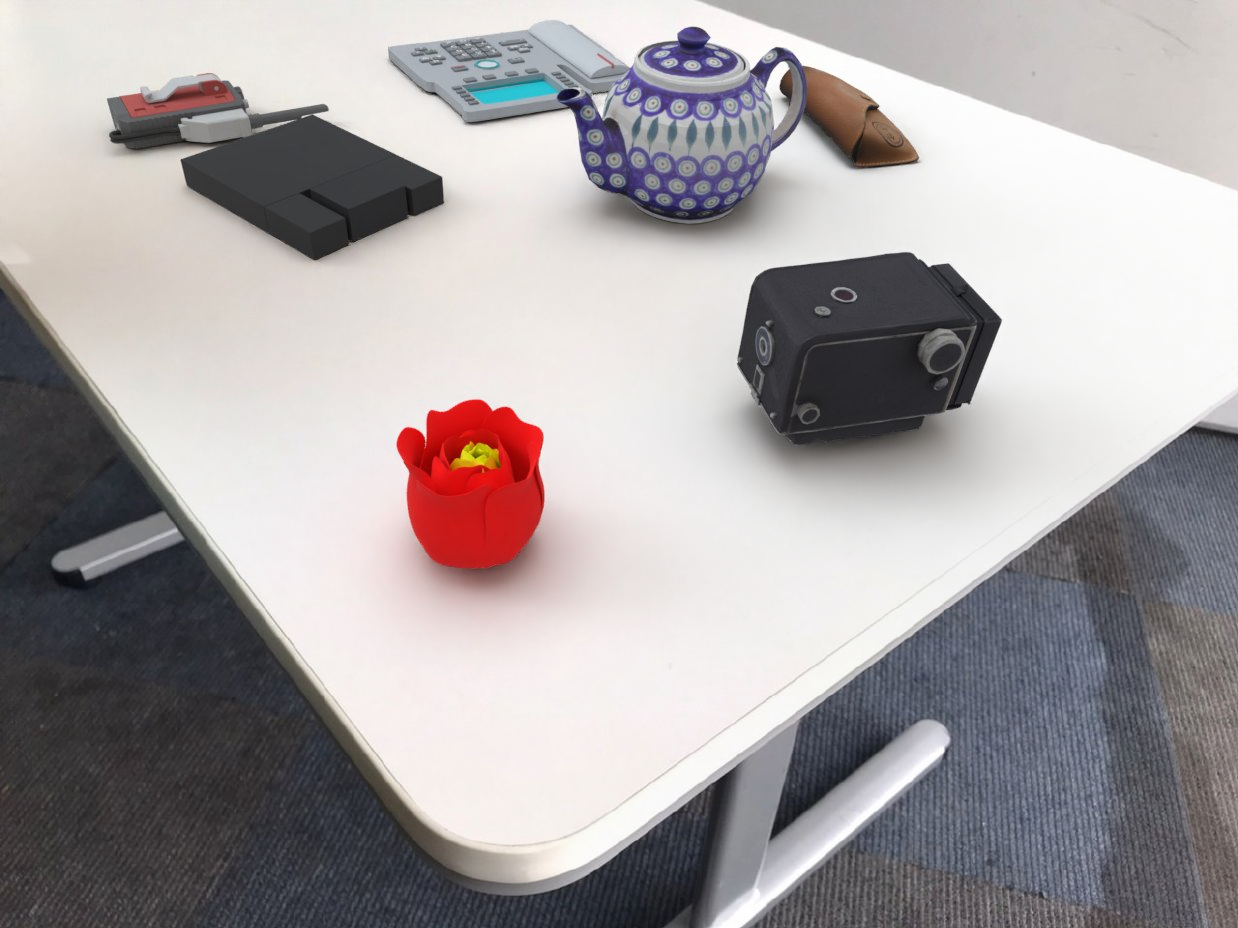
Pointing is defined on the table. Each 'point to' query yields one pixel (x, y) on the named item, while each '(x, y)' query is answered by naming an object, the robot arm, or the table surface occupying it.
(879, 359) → the camera
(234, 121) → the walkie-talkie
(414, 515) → the flower
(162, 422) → the table surface
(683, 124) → the teapot
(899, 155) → the sunglasses case
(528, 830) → the table surface
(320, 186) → the small pad
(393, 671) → the table surface
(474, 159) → the table surface
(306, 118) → the big pad
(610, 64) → the office telephone
